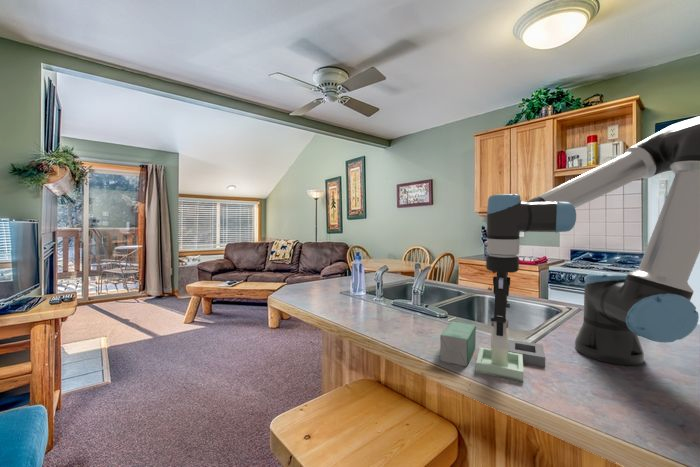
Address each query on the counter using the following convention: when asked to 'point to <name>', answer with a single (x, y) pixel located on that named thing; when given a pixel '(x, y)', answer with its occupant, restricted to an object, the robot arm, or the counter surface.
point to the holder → (528, 352)
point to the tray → (510, 372)
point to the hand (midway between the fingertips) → (500, 338)
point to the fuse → (499, 349)
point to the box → (458, 343)
